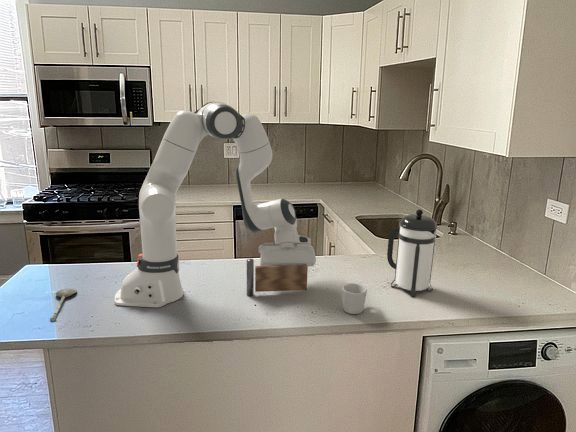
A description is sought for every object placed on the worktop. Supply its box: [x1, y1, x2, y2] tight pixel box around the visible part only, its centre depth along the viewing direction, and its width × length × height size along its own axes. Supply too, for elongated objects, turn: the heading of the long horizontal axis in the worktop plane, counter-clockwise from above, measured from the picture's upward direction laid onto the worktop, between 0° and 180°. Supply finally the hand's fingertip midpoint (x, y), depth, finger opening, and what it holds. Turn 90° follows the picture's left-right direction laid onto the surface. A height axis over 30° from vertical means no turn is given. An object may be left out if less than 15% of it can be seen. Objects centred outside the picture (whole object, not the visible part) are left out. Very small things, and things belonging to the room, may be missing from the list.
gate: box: [254, 265, 309, 293], centre depth 151 cm, size 18×2×9 cm, turn 97°
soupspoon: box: [49, 288, 78, 322], centre depth 142 cm, size 22×3×7 cm
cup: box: [341, 282, 368, 315], centre depth 142 cm, size 11×8×8 cm
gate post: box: [246, 258, 255, 297], centre depth 150 cm, size 2×2×13 cm
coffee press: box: [386, 209, 438, 298], centre depth 157 cm, size 17×16×30 cm
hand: (289, 277), depth 155 cm, fingers closed
